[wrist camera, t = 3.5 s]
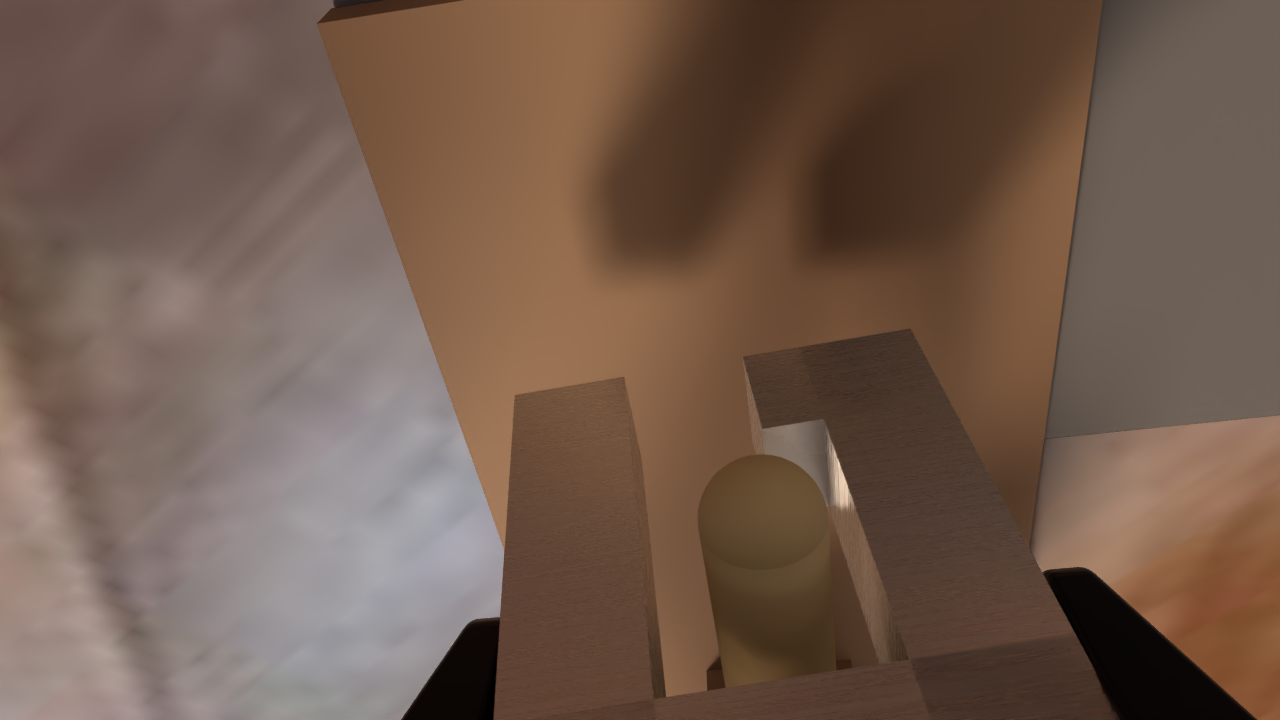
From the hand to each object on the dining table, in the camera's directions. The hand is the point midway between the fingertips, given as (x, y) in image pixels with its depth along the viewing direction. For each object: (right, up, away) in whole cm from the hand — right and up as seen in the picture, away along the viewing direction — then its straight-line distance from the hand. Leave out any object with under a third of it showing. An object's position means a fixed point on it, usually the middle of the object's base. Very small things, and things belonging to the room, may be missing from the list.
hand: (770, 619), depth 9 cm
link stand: (+1, +1, +7) cm, 7 cm away
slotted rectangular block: (0, +2, +3) cm, 3 cm away
